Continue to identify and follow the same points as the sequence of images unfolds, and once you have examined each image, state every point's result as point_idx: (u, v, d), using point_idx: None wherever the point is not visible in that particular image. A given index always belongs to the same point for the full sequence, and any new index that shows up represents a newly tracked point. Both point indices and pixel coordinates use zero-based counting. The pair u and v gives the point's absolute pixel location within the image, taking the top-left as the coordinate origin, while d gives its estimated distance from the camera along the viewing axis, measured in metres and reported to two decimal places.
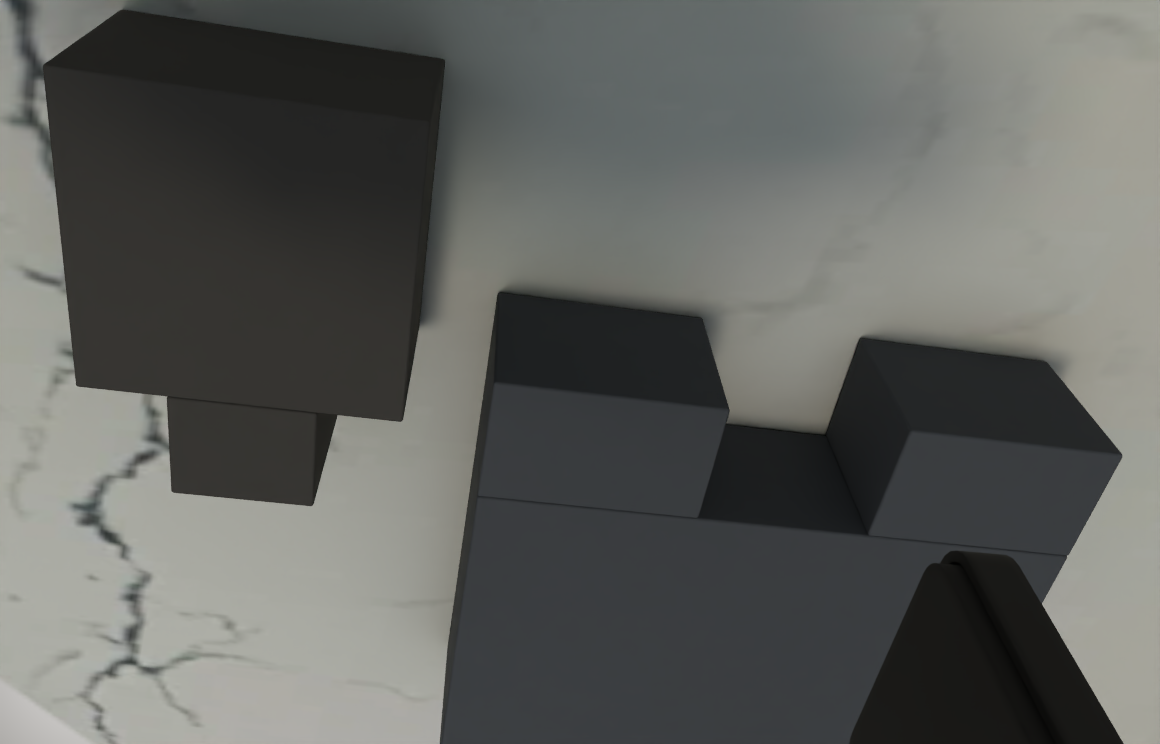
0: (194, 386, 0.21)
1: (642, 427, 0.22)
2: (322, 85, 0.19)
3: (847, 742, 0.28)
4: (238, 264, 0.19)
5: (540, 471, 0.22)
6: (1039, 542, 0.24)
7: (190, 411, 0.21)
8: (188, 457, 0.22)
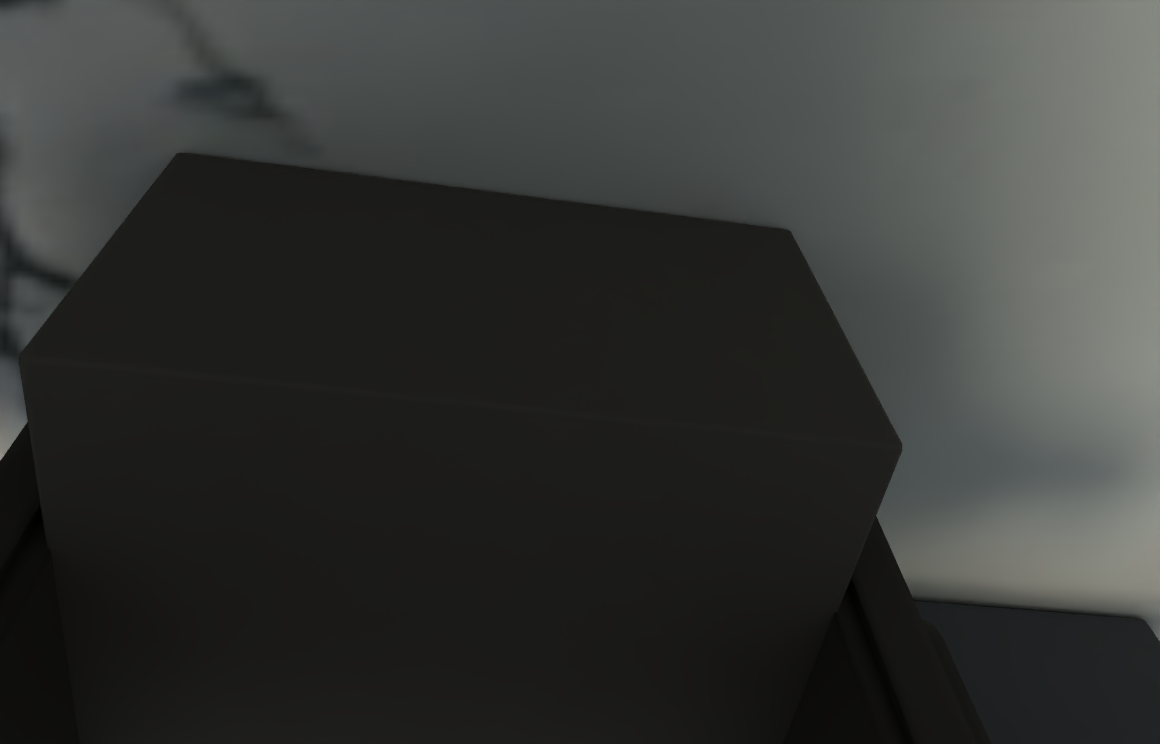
0: None
1: None
2: (632, 346, 0.09)
3: None
4: (438, 704, 0.09)
5: None
6: None
7: None
8: None
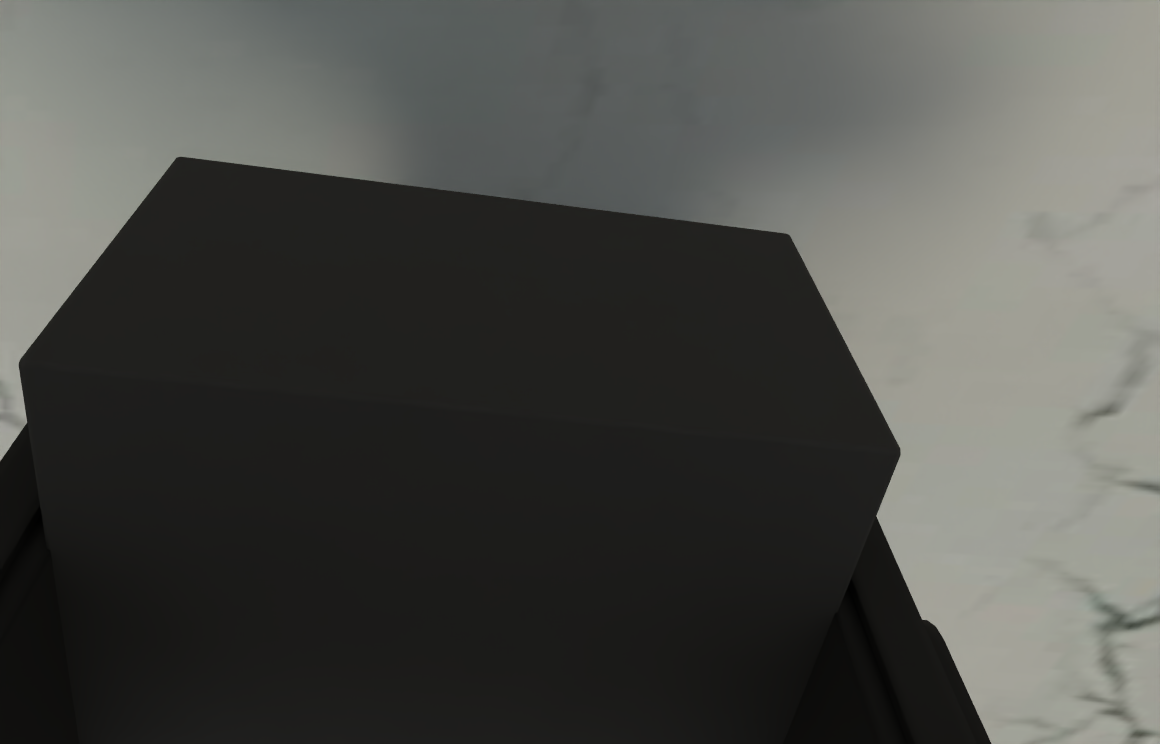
0: None
1: None
2: (631, 350, 0.09)
3: None
4: (437, 707, 0.09)
5: None
6: None
7: None
8: None
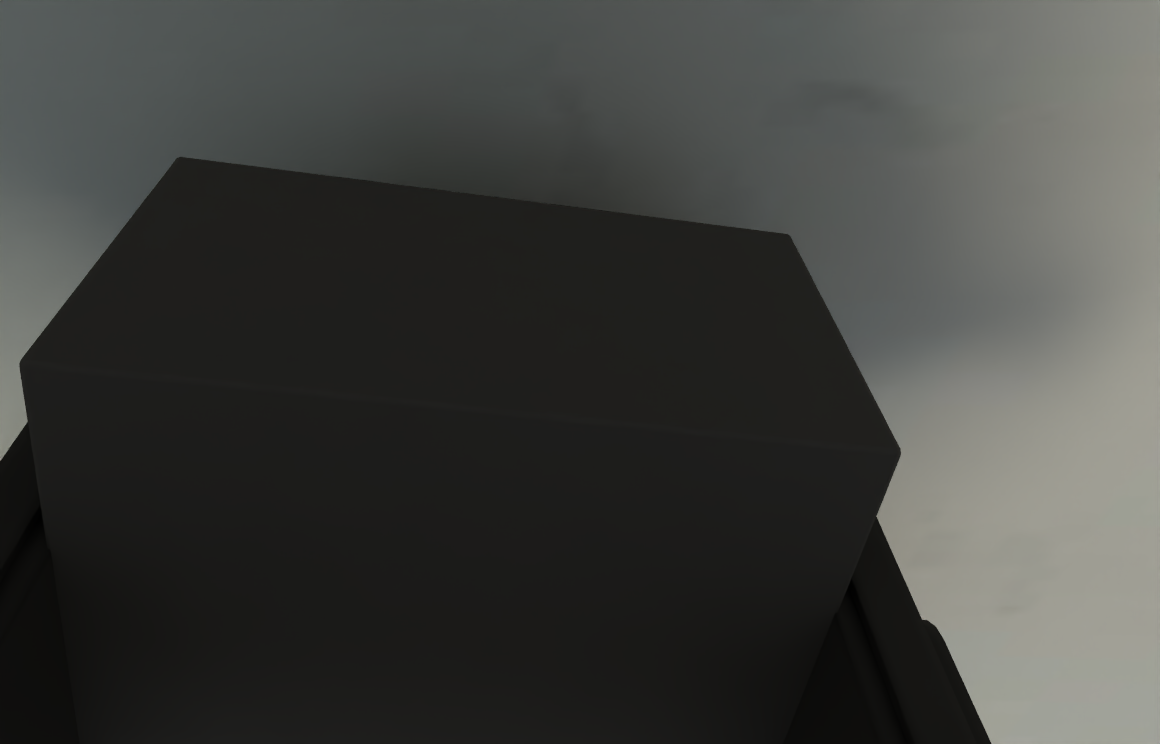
0: None
1: None
2: (631, 351, 0.09)
3: None
4: (438, 708, 0.09)
5: None
6: None
7: None
8: None
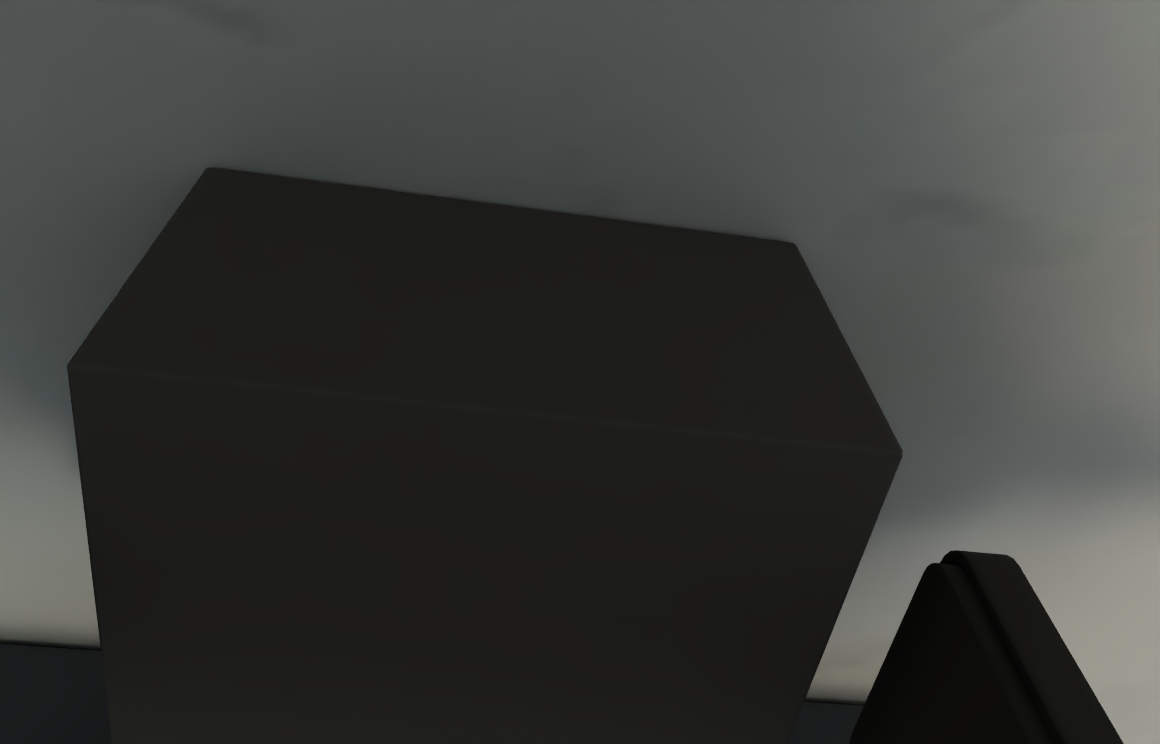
0: None
1: None
2: (645, 355, 0.09)
3: None
4: (457, 697, 0.10)
5: None
6: None
7: None
8: None
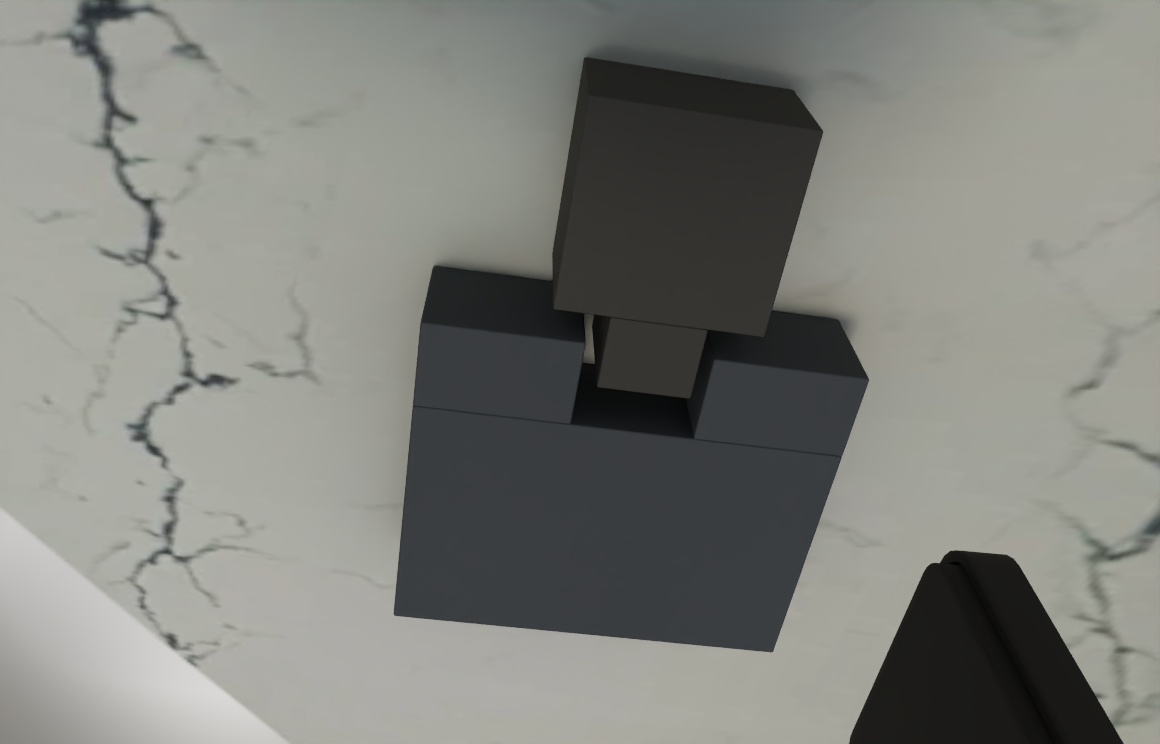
0: (631, 309, 0.31)
1: (525, 356, 0.32)
2: (744, 107, 0.29)
3: (698, 605, 0.37)
4: (680, 224, 0.29)
5: (456, 387, 0.32)
6: (818, 445, 0.34)
7: (624, 327, 0.31)
8: (615, 361, 0.32)
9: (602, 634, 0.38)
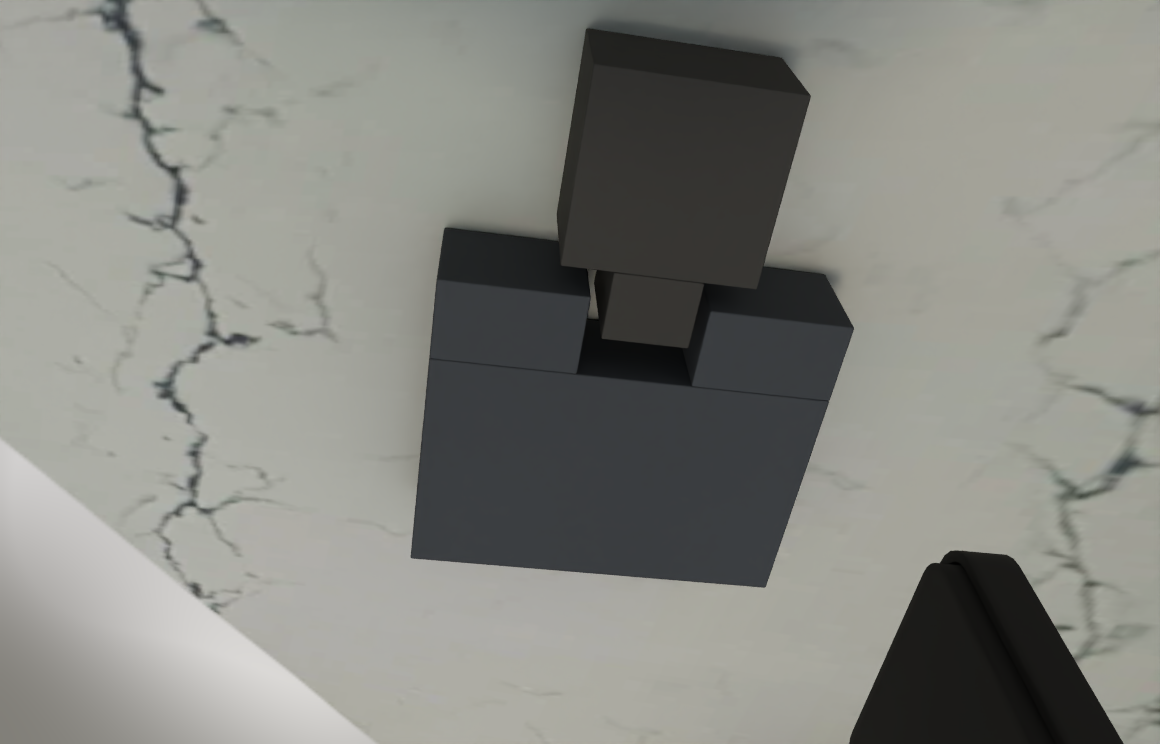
0: (633, 265, 0.33)
1: (534, 310, 0.34)
2: (737, 74, 0.31)
3: (696, 544, 0.40)
4: (678, 185, 0.32)
5: (470, 340, 0.34)
6: (807, 391, 0.36)
7: (627, 282, 0.33)
8: (618, 313, 0.34)
9: (606, 573, 0.40)
